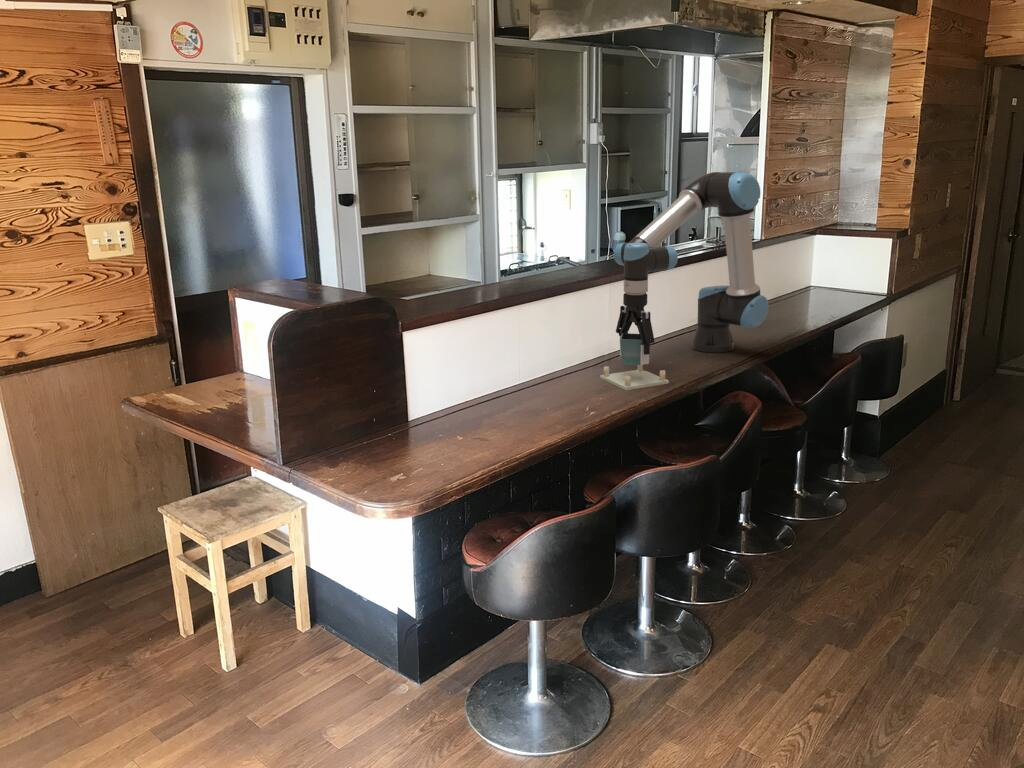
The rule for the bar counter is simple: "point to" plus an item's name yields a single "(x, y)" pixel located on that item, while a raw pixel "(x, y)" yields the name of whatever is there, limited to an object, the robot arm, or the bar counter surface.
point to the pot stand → (634, 378)
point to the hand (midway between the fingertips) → (634, 359)
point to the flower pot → (631, 348)
